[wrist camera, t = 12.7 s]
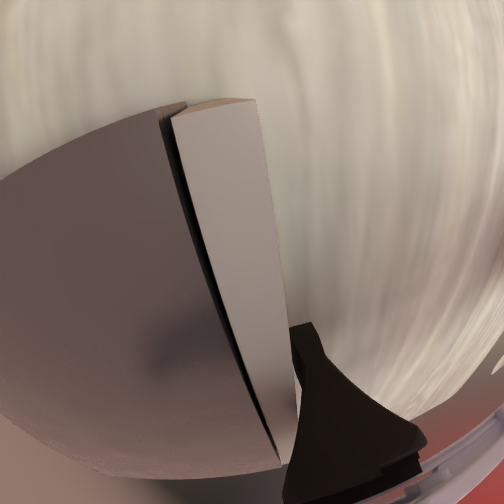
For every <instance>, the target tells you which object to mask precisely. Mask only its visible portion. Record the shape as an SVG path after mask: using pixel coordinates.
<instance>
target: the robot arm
mask: <svg viewBox="0 0 504 504" xmlns="http://www.w3.org/2000/svg"><path fill="white" fill-rule="evenodd" d="M289 335H290V344H291V354H292V362H293V365H294V369H295V372H296V375H297V378H298V380H299V383H300V385H301V388H302V395H301V406H300V414H299V421H298V427H297V433H296V437H295V442H294V447H293V451H292V455H291V458H290V462H289V466H288V469H287V473H286V477H285V482H284V486H283V491H282V498H283V502H284V504H362V503H365V502H367V501H370V500H372V499H375V498H377V497H379V496H382V495H384V494H386V493H388V492H390V491H393V490H395V489H397V488H399V487H401V486H403V485H405V484H407V483H409V482H411V481H413V480H415V479H416V478H418V477H420V476H422V475H424V474H425V473H427V472H429V471H431V470H432V469H433V471H432V474H431V475H429V476H426V477H424V478H422V479H420V480H419V481H417V482H415V483H413V484H412V485H410V486H408V487H406V488H405V489H404V491H405V495H403V496H401V497H399V498H397V499H395V500H392V501H390V502H388V503H385V504H456V503H457V502H458V501H460V500H461V499H462V498H463V497H464V496H466V495H467V494H468V493H469V492H470V491H471V490H472V489H473V488H475V486H477V485H478V484H479V483H480V482H481V481H482V480H483V479H484V478H485V477H486V476H487V475H488V474H489V473H490V472H491V471H492V470H493V469H494V468H495V467H496V466H497V465H498V464H499V463H500V462H501V460H502V459H503V458H504V403H503V404H502V405H501V406H500V407H499V408H498V409H497V410H495V412H493V413H492V414H491V415H490V416H489V417H487V418H486V419H485V420H484V421H482V422H481V423H480V424H479V425H478V426H477V427H475V428H474V429H473V430H472V431H470V432H469V433H467V434H466V435H465V436H463V437H462V438H460V439H459V440H458V441H456V442H455V443H453V444H452V445H450V446H449V447H447V448H445V449H444V450H442V451H441V452H439V453H438V454H436V455H434V456H433V457H431V458H429V459H427V460H426V461H424V462H422V463H421V464H420V463H419V461H418V459H419V454H418V451H419V450H421V449H422V448H423V447H425V446H426V445H427V443H428V442H427V440H426V437H425V436H424V434H423V433H422V431H421V430H420V429H419V427H418V426H417V425H415V424H413V423H411V422H409V421H407V420H405V419H403V418H401V417H399V416H398V415H396V414H394V413H393V412H391V411H389V410H388V409H386V408H385V407H383V406H382V405H380V404H379V403H377V402H376V401H375V400H373V399H372V398H370V397H369V396H368V395H366V394H365V393H364V392H363V391H361V390H360V389H359V388H358V387H357V386H356V385H354V384H353V383H352V382H351V381H350V380H349V379H348V378H347V377H346V376H345V375H344V374H343V373H342V372H341V371H340V370H339V369H338V368H337V367H336V366H335V365H334V364H333V363H332V362H331V361H330V360H329V359H328V358H327V356H326V355H325V353H324V350H323V347H322V344H321V341H320V338H319V335H318V333H317V331H316V330H315V328H314V326H313V324H312V323H311V322H309V323H305V324H301V325H298V326H294V327H290V328H289Z"/></svg>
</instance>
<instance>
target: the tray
mask: <svg viewBox="0 0 504 504" xmlns="http://www.w3.org/2000/svg"><path fill="white" fill-rule="evenodd" d="M171 121H172V125H173V129H174V133H175V137H176V141H177V145H178V149H179V153H180V159H179V162H180V166H181V170H182V173H183V177H184V181H185V184H186V188H187V192H188V195H189V199H190V202H191V206H192V209H193V213H194V216H195V219H196V223H197V226H198V230H199V233H200V236H201V240H202V243H203V246H204V249H205V253H206V256H207V259H208V262H209V265H210V268H211V272H212V275H213V278H214V281H215V284H216V287H217V290H218V293H219V296H220V299H221V302H222V305H223V308H224V311H225V314H226V317H227V320H228V323H229V326H230V328H231V331H232V334H233V337H234V340H235V343H236V345H237V348H238V351H239V354H240V357H241V359H242V362H243V365H244V367H245V370H246V373H247V376H248V378H249V381H250V383H251V386H252V389H253V391H254V394H255V397H256V399H257V402H258V404H259V407H260V409H261V412H262V414H263V417H264V419H265V422H266V424H267V426H268V427H269V430H270V432H271V435H272V437H273V440H274V442H275V444H276V447H277V449H278V452H279V454H280V456H281V459H282V461H283V464H284V463H289V462H290V458H291V455H292V451H293V447H294V442H295V437H296V433H297V427H298V416H297V404H296V394H295V383H294V373H293V363H292V354H291V344H290V335H289V326H288V318H287V309H286V301H285V293H284V284H283V277H282V269H281V261H280V254H279V246H278V239H277V232H276V224H275V217H274V211H273V204H272V197H271V190H270V184H269V177H268V171H267V164H266V158H265V152H264V146H263V140H262V134H261V128H260V122H259V116H258V110H257V104H256V100H255V99H241V98H223V99H218V100H214V101H209V102H205V103H200V104H196V105H192V106H190V107H188V108H186V109H185V110H183V111H181V112H180V113H178V114H176V115H175V116H173V117H172V118H171Z"/></svg>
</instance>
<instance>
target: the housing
mask: <svg viewBox="0 0 504 504" xmlns="http://www.w3.org/2000/svg"><path fill="white" fill-rule="evenodd" d="M186 108H187V103H186V101H185V102H180V103H176V104H171V105H167V106H163V107H159V108H155V109H152V110H149V111H146V112H143V113H140V114H137V115H134V116H131V117H128V118H125V119H123V120H120V121H117V122H115V123H112V124H110V125H107V126H104V127H102V128H100V129H97V130H95V131H92V132H90V133H88V134H86V135H83V136H81V137H79V138H77V139H74V140H72V141H70V142H68V143H66V144H64V145H62V146H60V147H58V148H56V149H54V150H52V151H50V152H48V153H46V154H45V155H43V156H41V157H39V158H37V159H35V160H34V161H32V162H30V163H29V164H27V165H25V166H23V167H22V168H20V169H18V170H17V171H15V172H14V173H12V174H10V175H9V176H7V177H6V178H4V179H3V180H1V181H0V413H1V414H2V415H3V416H4V417H6V418H7V419H9V420H10V421H11V422H13V423H14V424H15V425H17V426H18V427H20V428H21V429H22V430H24V431H25V432H27V433H28V434H30V435H31V436H33V437H34V438H36V439H38V440H39V441H40V442H42V443H44V444H46V445H47V446H49V447H50V448H52V449H54V450H56V451H57V452H60V453H61V454H63V455H65V456H67V457H68V458H70V459H72V460H74V461H76V462H78V463H80V464H82V465H84V466H87V467H89V468H91V469H93V470H95V471H98V472H100V473H102V474H105V475H111V476H120V477H130V478H144V479H198V478H213V477H224V476H232V475H240V474H247V473H254V472H259V471H265V470H270V469H275V468H280V467H282V464H281V460H280V456H279V452H278V449H277V447H276V444H275V442H274V440H273V437H272V435H271V432H270V430H269V427H268V426H267V424H266V422H265V419H264V417H263V414H262V412H261V409H260V407H259V404H258V402H257V399H256V397H255V394H254V391H253V389H252V386H251V383H250V381H249V378H248V376H247V373H246V370H245V367H244V365H243V362H242V359H241V357H240V354H239V351H238V348H237V345H236V343H235V340H234V337H233V334H232V331H231V328H230V326H229V323H228V320H227V317H226V314H225V311H224V308H223V305H222V302H221V299H220V296H219V293H218V290H217V287H216V284H215V281H214V278H213V275H212V272H211V268H210V265H209V262H208V259H207V256H206V253H205V249H204V246H203V243H202V240H201V236H200V233H199V230H198V226H197V223H196V219H195V216H194V213H193V209H192V206H191V202H190V199H189V195H188V192H187V188H186V184H185V181H184V177H183V173H182V170H181V166H180V162H179V159H180V153H179V149H178V145H177V141H176V137H175V133H174V129H173V125H172V121H171V118H172V117H173V116H175V115H176V114H178V113H180V112H181V111H183V110H185V109H186Z"/></svg>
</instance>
